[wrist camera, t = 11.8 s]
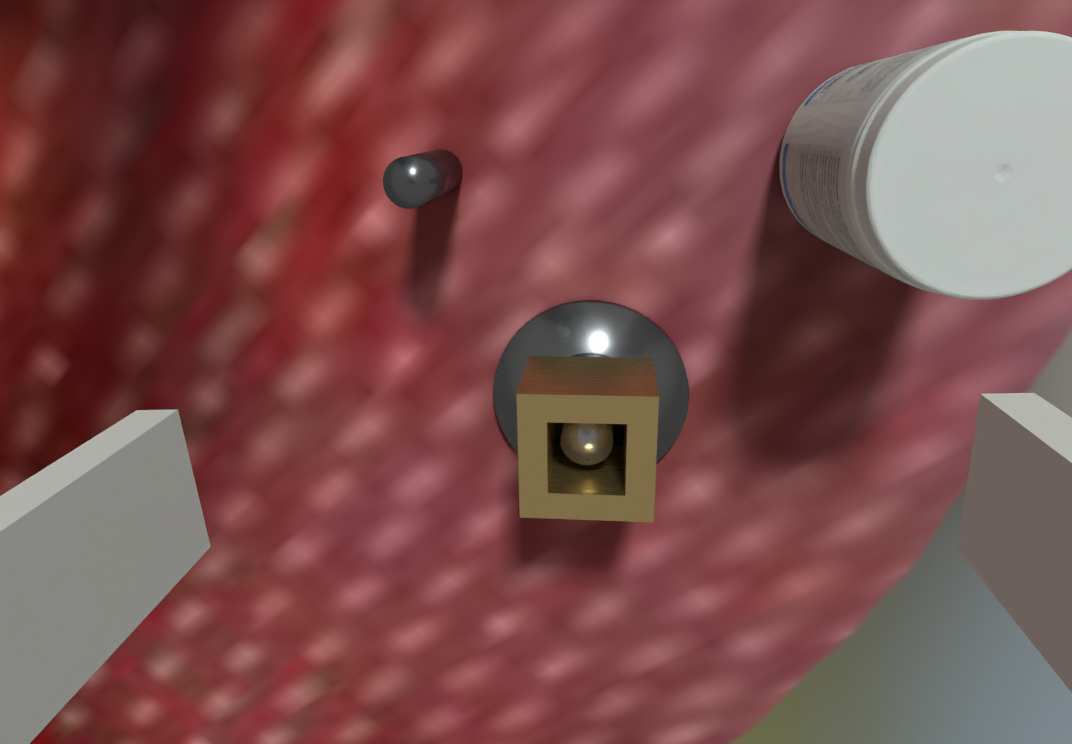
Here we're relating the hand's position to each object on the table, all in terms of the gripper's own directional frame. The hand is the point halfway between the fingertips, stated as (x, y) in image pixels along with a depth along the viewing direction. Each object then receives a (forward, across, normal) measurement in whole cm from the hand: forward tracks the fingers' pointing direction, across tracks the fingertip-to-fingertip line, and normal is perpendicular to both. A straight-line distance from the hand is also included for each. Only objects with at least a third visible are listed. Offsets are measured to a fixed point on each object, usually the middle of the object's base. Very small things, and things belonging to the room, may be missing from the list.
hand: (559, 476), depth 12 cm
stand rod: (+32, -9, +3) cm, 33 cm away
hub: (+32, -1, -11) cm, 33 cm away
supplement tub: (+32, +15, +3) cm, 35 cm away
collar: (+29, -1, -11) cm, 31 cm away
